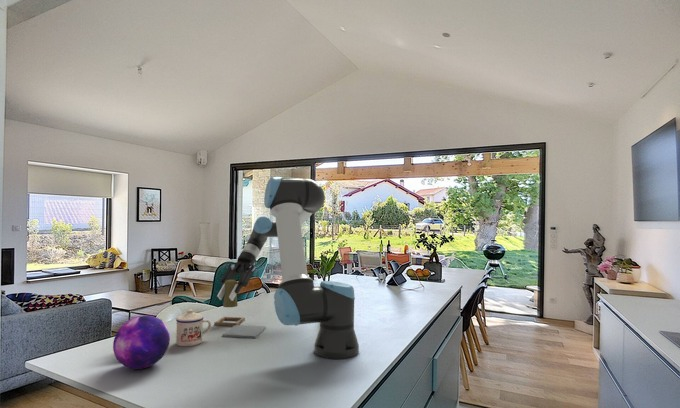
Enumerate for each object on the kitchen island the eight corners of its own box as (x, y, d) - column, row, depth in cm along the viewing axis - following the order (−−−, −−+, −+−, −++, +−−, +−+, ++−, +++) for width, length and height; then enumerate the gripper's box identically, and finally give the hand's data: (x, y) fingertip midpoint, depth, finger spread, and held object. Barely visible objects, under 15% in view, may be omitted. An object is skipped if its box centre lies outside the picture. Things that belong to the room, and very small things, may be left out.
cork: (232, 303, 167) (232, 278, 168) (240, 305, 164) (241, 279, 164) (220, 305, 163) (220, 279, 163) (228, 308, 159) (229, 281, 159)
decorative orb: (106, 366, 114) (108, 315, 114) (158, 354, 124) (160, 307, 125) (120, 382, 103) (122, 326, 104) (176, 367, 114) (178, 316, 114)
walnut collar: (236, 326, 157) (236, 323, 157) (214, 325, 158) (214, 322, 158) (244, 320, 167) (244, 317, 167) (223, 319, 168) (223, 316, 168)
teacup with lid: (178, 348, 130) (179, 314, 130) (172, 341, 137) (173, 308, 138) (214, 342, 137) (215, 309, 137) (206, 336, 144) (207, 304, 145)
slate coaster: (255, 338, 142) (255, 336, 142) (222, 336, 144) (222, 334, 144) (266, 328, 155) (266, 326, 155) (235, 326, 157) (235, 324, 157)
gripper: (268, 262, 175) (246, 305, 159) (235, 260, 182) (211, 301, 165) (262, 251, 170) (239, 294, 154) (228, 249, 177) (203, 291, 161)
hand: (225, 298), depth 160 cm, fingers closed on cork, 5 cm apart
